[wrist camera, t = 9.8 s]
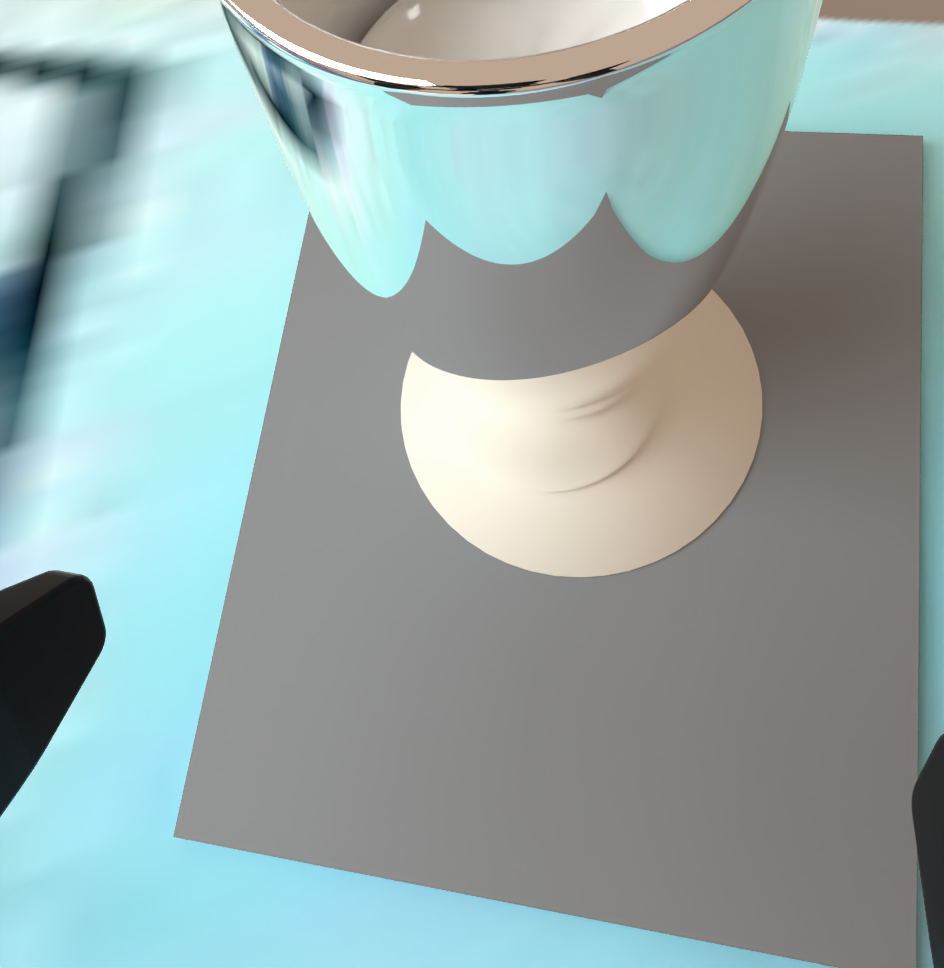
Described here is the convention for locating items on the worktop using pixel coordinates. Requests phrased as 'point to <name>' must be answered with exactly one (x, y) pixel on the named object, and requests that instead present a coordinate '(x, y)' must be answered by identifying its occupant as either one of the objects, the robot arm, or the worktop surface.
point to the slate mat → (605, 608)
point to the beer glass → (531, 190)
